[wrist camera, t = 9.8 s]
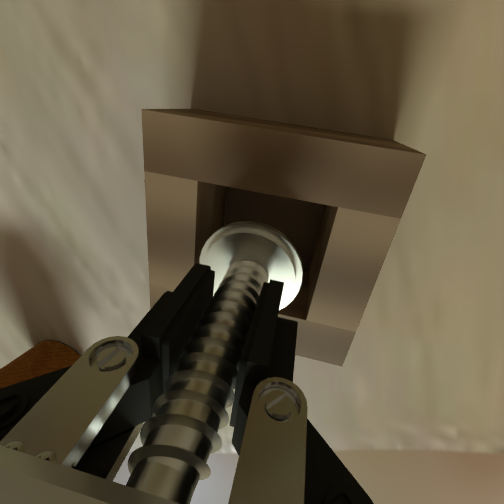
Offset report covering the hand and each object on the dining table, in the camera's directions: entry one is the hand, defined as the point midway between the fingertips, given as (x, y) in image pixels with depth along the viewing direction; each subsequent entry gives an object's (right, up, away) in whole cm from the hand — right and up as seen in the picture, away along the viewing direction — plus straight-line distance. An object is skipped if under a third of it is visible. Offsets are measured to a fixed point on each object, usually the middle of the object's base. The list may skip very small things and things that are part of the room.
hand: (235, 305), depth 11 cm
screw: (+1, +2, +4) cm, 5 cm away
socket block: (+2, +4, +9) cm, 10 cm away
